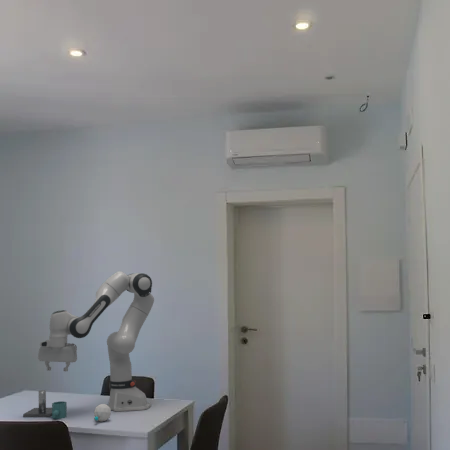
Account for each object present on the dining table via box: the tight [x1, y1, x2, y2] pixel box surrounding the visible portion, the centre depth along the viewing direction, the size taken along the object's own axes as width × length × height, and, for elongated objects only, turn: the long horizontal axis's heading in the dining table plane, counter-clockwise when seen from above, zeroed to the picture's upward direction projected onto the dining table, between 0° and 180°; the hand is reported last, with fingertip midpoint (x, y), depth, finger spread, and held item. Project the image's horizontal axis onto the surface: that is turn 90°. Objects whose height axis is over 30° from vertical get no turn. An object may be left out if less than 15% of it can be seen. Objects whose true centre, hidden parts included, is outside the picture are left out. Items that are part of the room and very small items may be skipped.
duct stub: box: [22, 389, 52, 418], centre depth 301 cm, size 14×14×12 cm
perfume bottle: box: [93, 403, 112, 422], centre depth 280 cm, size 8×8×12 cm
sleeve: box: [51, 400, 68, 420], centre depth 291 cm, size 9×6×7 cm
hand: (57, 370), depth 296 cm, fingers open, 8 cm apart
